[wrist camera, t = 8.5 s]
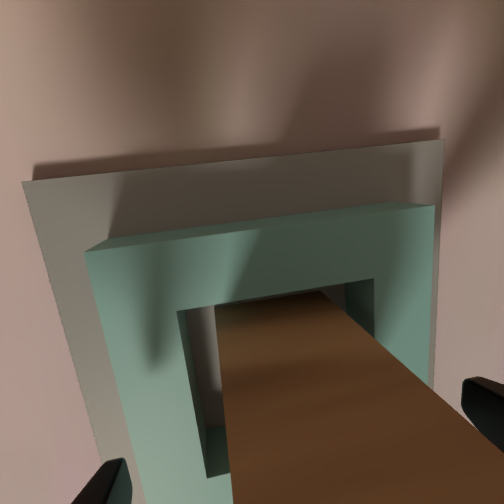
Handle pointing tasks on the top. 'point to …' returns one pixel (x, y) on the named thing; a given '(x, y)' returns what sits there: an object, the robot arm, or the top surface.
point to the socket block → (227, 284)
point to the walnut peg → (338, 415)
